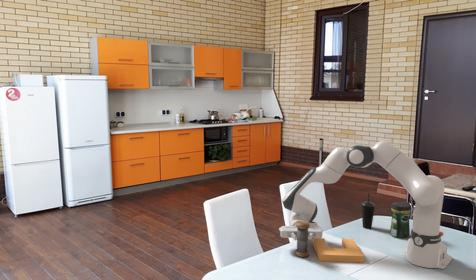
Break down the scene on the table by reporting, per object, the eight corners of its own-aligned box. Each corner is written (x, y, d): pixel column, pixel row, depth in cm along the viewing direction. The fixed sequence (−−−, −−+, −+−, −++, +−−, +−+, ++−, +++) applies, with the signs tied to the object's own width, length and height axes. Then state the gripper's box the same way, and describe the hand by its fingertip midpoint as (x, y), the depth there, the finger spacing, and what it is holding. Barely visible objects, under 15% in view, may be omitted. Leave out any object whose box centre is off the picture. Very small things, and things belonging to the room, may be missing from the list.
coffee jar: (402, 232, 214) (404, 199, 212) (412, 237, 206) (414, 203, 204) (387, 233, 211) (388, 200, 209) (396, 239, 204) (398, 204, 201)
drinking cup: (376, 227, 221) (378, 193, 219) (370, 230, 216) (372, 195, 213) (363, 224, 227) (365, 190, 224) (357, 227, 221) (359, 193, 219)
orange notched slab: (313, 243, 197) (313, 238, 196) (352, 244, 196) (353, 239, 196) (319, 260, 177) (319, 254, 177) (363, 262, 176) (364, 255, 176)
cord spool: (301, 250, 187) (302, 220, 186) (311, 254, 182) (312, 223, 180) (292, 253, 184) (293, 222, 182) (302, 258, 179) (303, 226, 177)
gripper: (278, 221, 195) (280, 231, 181) (319, 222, 194) (324, 232, 180) (278, 233, 196) (280, 244, 182) (319, 234, 195) (324, 245, 181)
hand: (302, 238), depth 181 cm, fingers closed on cord spool, 5 cm apart
